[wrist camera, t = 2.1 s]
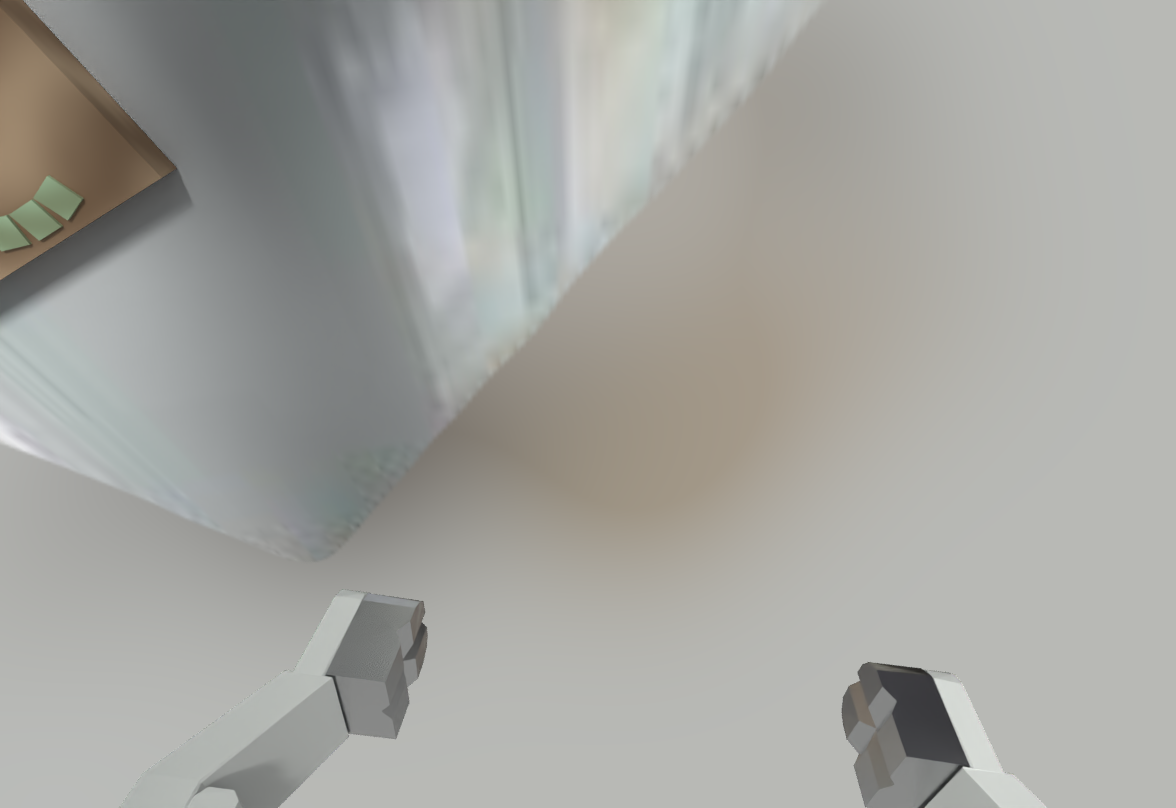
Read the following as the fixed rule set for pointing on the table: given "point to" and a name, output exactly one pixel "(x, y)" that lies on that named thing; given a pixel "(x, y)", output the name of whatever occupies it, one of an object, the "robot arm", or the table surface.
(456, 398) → the table surface
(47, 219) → the dial board
